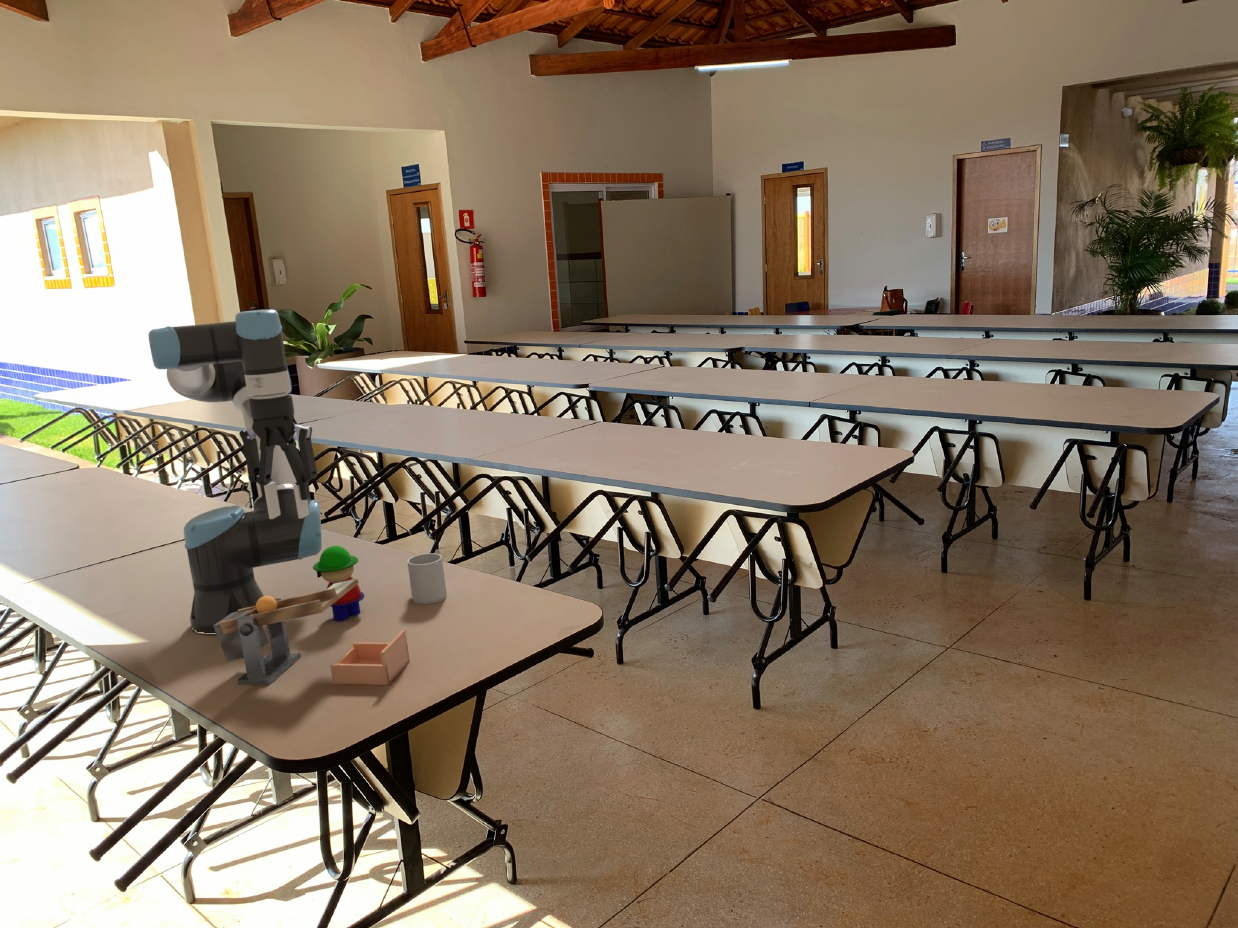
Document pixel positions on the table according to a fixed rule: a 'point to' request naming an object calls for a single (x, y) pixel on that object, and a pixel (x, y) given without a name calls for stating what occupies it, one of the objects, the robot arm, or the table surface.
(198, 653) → the table surface
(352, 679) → the pink open box
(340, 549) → the toy
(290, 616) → the lever
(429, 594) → the cup
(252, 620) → the bracket
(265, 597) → the ball
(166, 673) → the table surface
